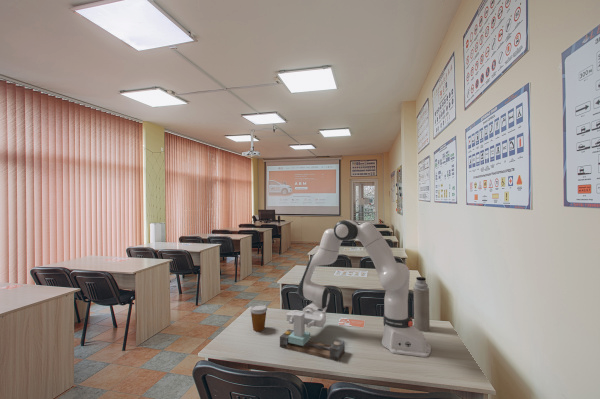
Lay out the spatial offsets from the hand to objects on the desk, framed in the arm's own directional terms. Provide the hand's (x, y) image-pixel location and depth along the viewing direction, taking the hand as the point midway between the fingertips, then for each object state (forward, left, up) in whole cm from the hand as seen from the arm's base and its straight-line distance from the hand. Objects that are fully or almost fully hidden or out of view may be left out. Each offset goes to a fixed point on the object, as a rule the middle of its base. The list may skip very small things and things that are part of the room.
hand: (298, 324), depth 141 cm
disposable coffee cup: (+30, -8, -11) cm, 33 cm away
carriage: (0, 0, -8) cm, 8 cm away
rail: (-6, 0, -11) cm, 13 cm away
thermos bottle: (-52, -47, -11) cm, 72 cm away
